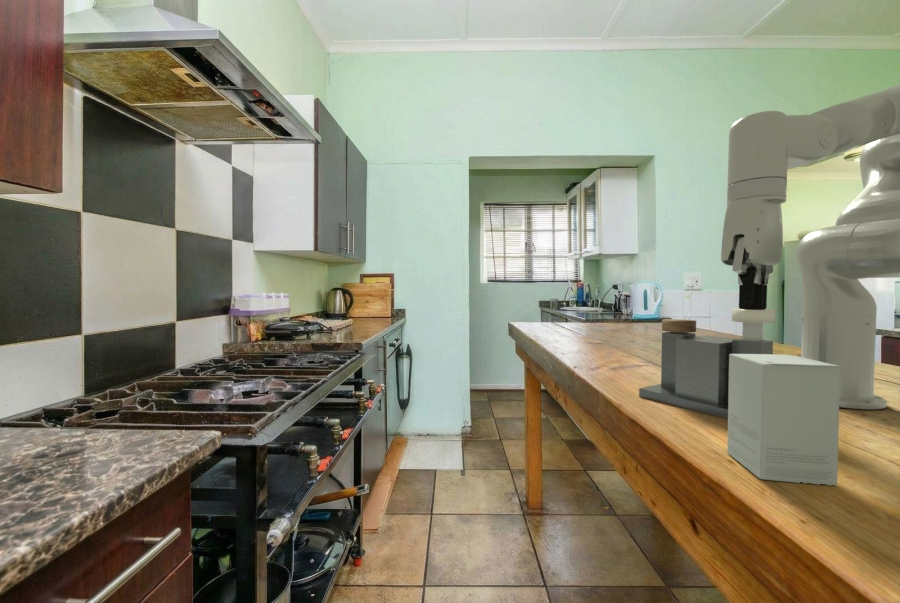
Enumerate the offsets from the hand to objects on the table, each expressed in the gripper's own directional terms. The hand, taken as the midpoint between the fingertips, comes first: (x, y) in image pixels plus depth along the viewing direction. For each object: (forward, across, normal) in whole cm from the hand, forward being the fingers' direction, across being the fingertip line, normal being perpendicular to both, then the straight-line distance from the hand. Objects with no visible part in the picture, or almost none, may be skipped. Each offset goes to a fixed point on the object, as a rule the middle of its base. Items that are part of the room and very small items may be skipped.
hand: (752, 309), depth 64 cm
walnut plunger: (+15, 0, -12) cm, 19 cm away
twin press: (+17, 0, -6) cm, 18 cm away
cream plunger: (+12, 0, 0) cm, 12 cm away
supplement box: (+18, +20, +11) cm, 29 cm away
